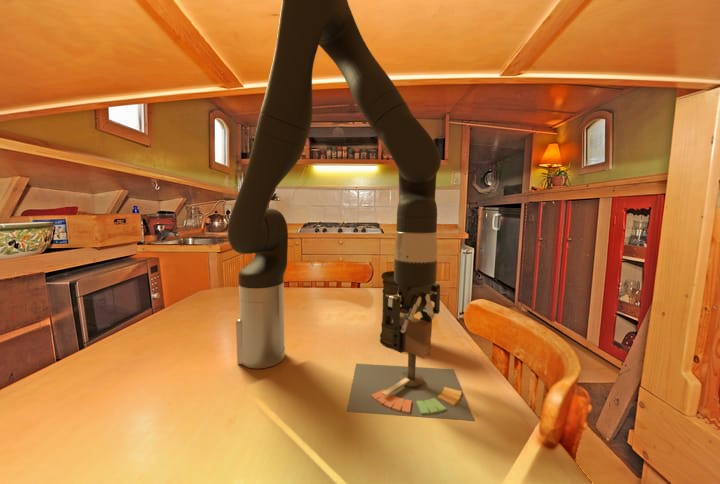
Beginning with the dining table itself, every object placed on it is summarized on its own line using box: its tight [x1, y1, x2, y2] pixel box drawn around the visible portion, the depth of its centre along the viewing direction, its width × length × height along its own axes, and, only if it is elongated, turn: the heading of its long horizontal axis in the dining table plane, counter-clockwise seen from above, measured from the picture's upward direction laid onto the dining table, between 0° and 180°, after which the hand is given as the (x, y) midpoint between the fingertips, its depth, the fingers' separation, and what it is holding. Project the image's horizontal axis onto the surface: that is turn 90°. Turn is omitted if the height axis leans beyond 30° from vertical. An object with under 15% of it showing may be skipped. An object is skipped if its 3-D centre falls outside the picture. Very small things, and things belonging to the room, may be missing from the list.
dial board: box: [346, 363, 475, 422], centre depth 55 cm, size 20×15×2 cm
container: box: [379, 270, 407, 350], centre depth 74 cm, size 9×9×18 cm
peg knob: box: [382, 316, 432, 398], centre depth 54 cm, size 10×6×12 cm, turn 135°
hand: (412, 343), depth 56 cm, fingers open, 8 cm apart
